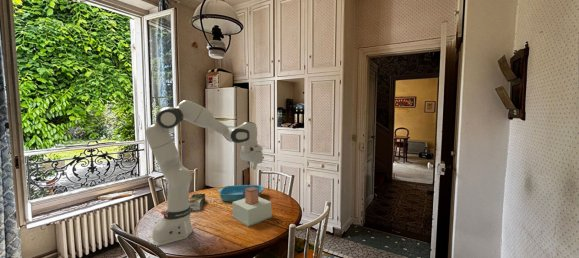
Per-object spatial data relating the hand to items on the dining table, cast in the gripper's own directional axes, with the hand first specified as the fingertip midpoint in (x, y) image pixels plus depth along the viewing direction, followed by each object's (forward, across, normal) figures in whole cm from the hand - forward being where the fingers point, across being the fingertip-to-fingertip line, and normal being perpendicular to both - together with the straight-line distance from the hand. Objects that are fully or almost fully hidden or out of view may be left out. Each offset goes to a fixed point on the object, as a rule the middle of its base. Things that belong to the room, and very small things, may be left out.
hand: (251, 168), depth 150 cm
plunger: (+25, 0, 0) cm, 25 cm away
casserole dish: (+33, -36, +15) cm, 51 cm away
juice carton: (+33, -45, -18) cm, 59 cm away
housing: (+32, 0, 0) cm, 32 cm away
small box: (+33, -18, +12) cm, 39 cm away
